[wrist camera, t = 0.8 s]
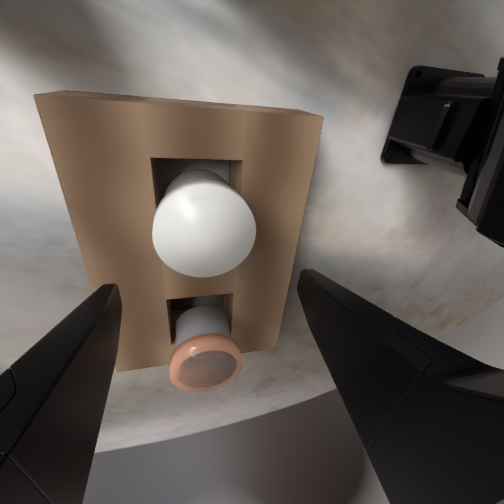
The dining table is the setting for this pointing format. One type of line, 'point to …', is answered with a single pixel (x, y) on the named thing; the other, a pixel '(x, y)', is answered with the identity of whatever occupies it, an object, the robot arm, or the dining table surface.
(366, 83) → the dining table surface
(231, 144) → the wooden socket block
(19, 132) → the dining table surface
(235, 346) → the plug
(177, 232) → the plug
